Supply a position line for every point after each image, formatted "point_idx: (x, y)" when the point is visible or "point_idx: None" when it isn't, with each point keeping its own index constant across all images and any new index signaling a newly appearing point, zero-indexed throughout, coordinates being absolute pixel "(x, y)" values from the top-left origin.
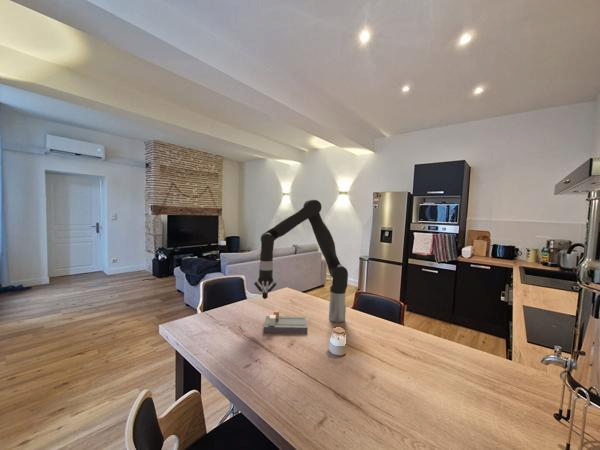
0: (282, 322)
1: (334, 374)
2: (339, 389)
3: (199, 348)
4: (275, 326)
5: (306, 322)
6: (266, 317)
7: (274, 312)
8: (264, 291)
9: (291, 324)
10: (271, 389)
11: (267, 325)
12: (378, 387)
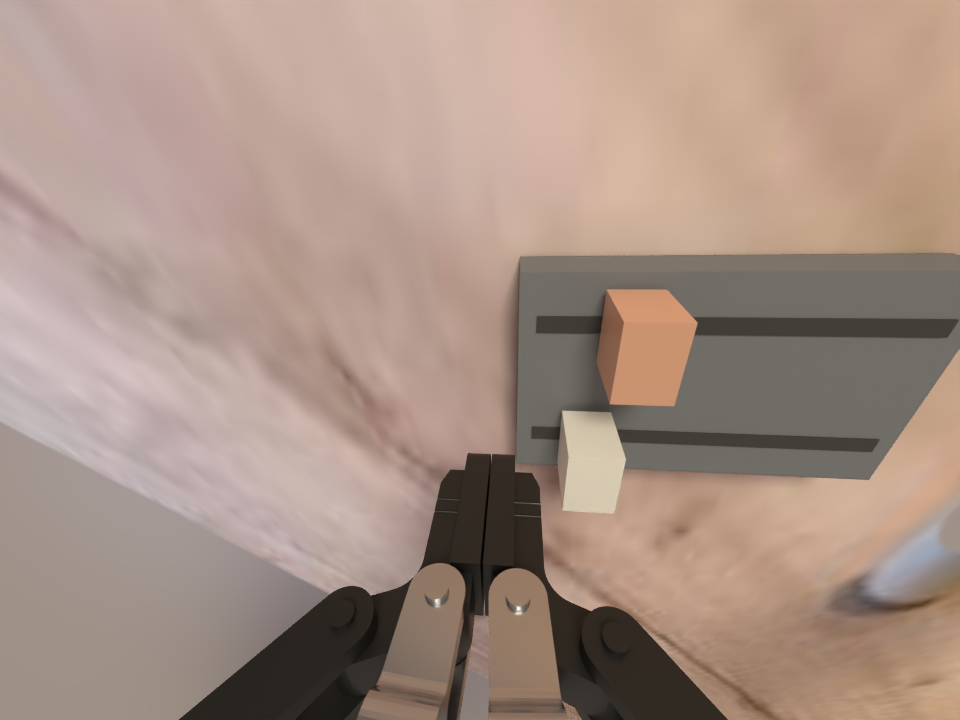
0: (675, 404)
1: (787, 663)
2: (764, 694)
3: (255, 533)
4: None
5: (919, 403)
6: (526, 310)
7: (619, 402)
8: (467, 655)
9: (748, 438)
10: None
11: (542, 445)
12: (899, 703)
